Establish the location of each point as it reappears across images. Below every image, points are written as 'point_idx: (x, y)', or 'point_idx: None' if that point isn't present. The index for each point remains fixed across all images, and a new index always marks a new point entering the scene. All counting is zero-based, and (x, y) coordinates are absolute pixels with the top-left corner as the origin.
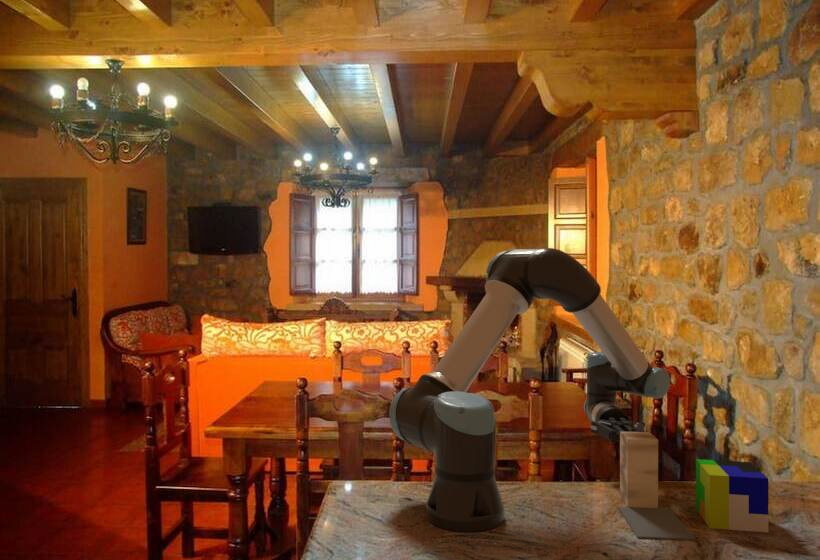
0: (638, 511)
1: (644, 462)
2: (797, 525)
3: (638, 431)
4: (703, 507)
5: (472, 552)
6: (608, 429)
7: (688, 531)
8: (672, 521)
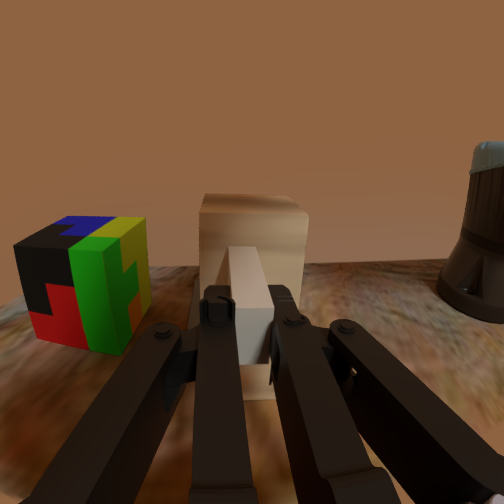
0: None
1: None
2: (22, 304)
3: (171, 357)
4: (137, 303)
5: (422, 260)
6: (379, 345)
7: (194, 289)
8: None
